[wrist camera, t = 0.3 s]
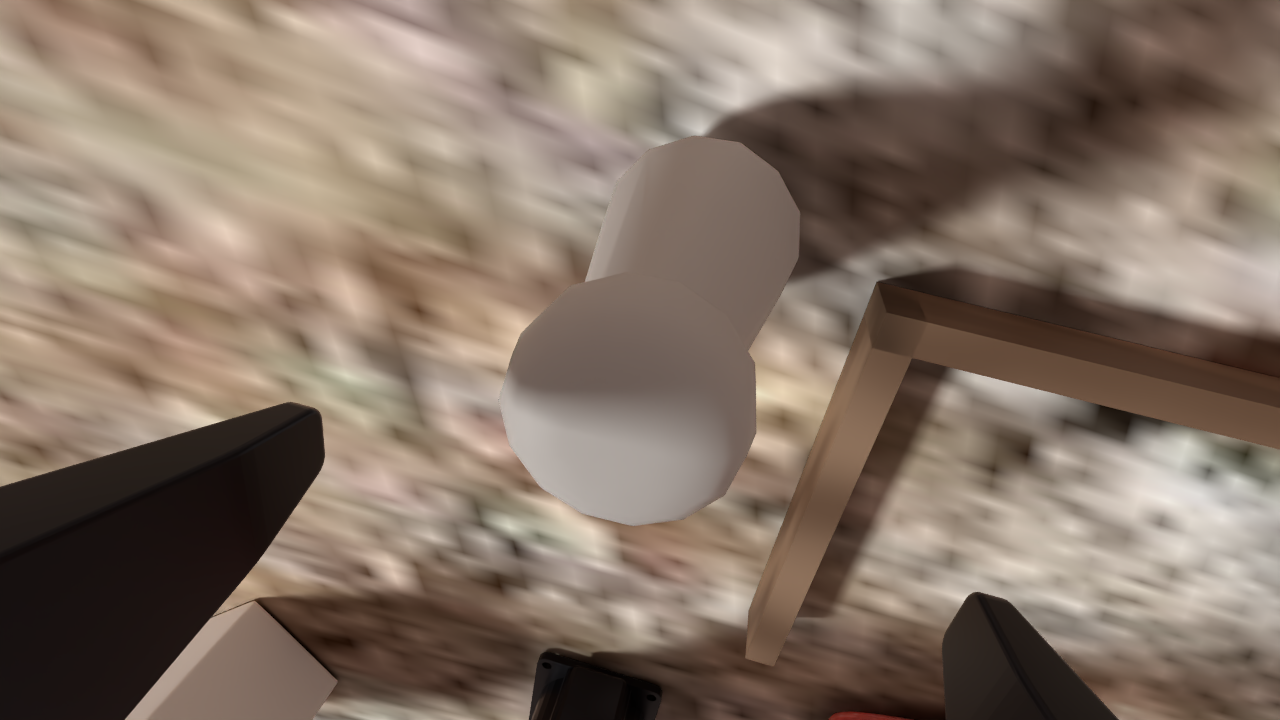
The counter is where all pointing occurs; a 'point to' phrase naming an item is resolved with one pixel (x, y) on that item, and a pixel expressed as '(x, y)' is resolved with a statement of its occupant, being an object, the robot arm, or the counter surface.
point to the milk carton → (239, 674)
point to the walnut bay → (995, 350)
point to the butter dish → (862, 716)
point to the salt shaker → (657, 339)
